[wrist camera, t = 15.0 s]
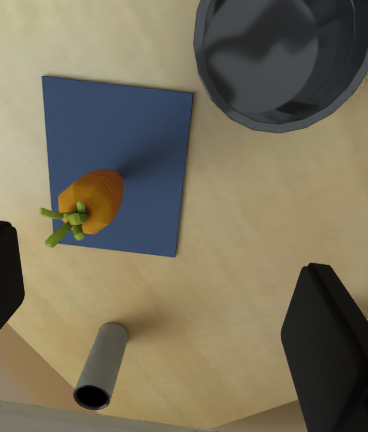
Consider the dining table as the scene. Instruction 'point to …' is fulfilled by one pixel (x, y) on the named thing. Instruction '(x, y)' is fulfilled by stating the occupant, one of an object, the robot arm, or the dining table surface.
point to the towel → (121, 157)
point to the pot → (281, 58)
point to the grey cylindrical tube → (101, 368)
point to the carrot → (87, 205)
